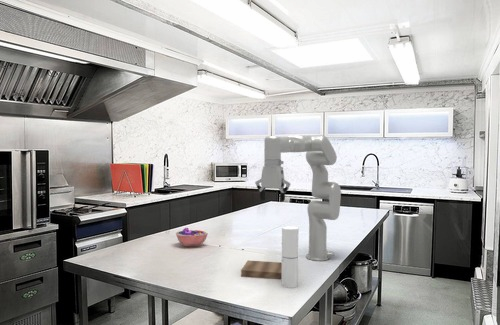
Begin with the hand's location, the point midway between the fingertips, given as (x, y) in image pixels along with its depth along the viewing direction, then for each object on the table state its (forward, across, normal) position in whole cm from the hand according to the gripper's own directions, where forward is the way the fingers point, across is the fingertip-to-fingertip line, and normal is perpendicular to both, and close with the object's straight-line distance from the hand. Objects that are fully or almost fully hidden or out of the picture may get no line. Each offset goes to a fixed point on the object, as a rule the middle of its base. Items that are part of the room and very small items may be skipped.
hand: (272, 200), depth 163 cm
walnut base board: (+36, +6, -6) cm, 37 cm away
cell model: (+36, +69, -28) cm, 83 cm away
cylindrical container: (+36, -10, +4) cm, 38 cm away
